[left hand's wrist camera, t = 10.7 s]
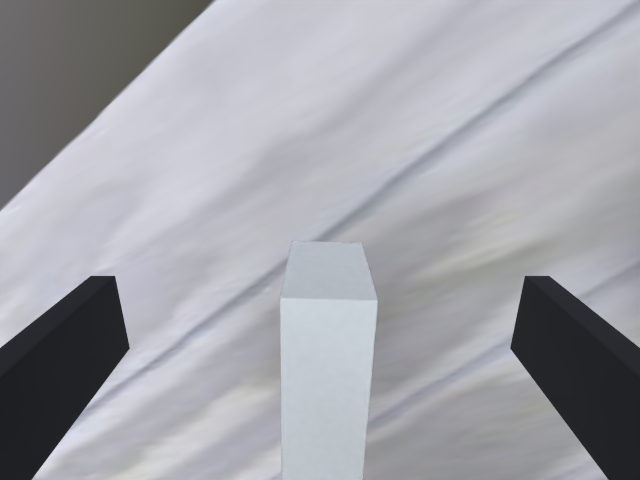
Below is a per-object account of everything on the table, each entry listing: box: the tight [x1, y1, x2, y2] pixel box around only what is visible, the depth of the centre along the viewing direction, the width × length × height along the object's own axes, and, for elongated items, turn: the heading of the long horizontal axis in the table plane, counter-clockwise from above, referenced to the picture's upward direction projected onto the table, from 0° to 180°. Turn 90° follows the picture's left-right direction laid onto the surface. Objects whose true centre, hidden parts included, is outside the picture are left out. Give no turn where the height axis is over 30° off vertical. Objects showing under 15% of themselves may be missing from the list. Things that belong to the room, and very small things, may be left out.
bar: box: [280, 241, 378, 480], centre depth 29 cm, size 28×5×9 cm, turn 179°
